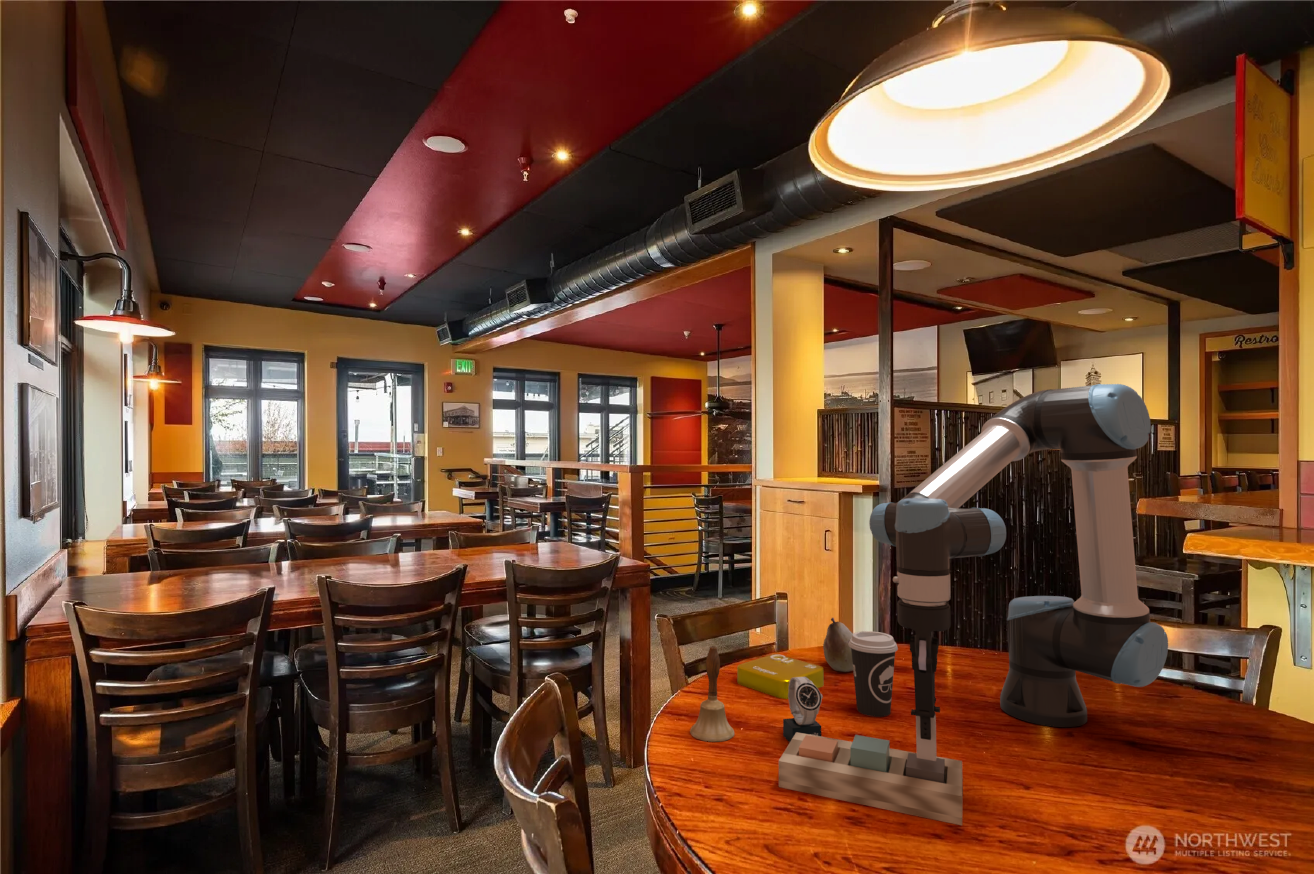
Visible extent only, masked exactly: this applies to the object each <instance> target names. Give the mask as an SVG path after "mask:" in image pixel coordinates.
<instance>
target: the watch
mask: <svg viewBox="0 0 1314 874" xmlns="http://www.w3.org/2000/svg"><path fill="white" fill-rule="evenodd" d="M823 698H824V696H823V694H822V693H821V692H820V688H817V687H816V686H815V685H814V684H813V683H812V681H810V680H809V679H808V678H807V677H793V678H791V680H790V682H789V693H788V699H787V700H788V705H789V706H788V707H789V710H790V713H791V715H792V716H793V718H792V717H791V718H783V719H782V730H783V732H782V733H783V735H782V736H783V738H784V739H785V740H786V741H787V742H788V744H789V743H790V742H791V740H792V738H793V737H794V735H795V734H796V732H798V733H804V734H810V735H815V736H821V737H822V725H821V724H820V723H819V722H818V721H817V720H816V719H817V715H818V714H819V711H820V706H821V704H822V699H823Z"/></svg>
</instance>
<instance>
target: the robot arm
mask: <svg viewBox="0 0 1314 874" xmlns="http://www.w3.org/2000/svg"><path fill="white" fill-rule="evenodd" d="M1151 427H1152V426H1151V417H1150V414H1149V410H1148V407H1147V405H1146V403H1145V402H1144V399H1143V398H1142V396H1140V395H1139V394H1138V392H1137V391H1136V390H1135V389H1133V388H1132V387H1131V386H1128V385H1127V384H1121V383H1111V384H1110V383H1109V384H1108V383H1107V384H1105V383H1104V384H1102V383H1098V384H1097V383H1096V384H1094V385H1093V384H1092V385H1084V386H1073V387H1064V388H1055V389H1054V388H1053V389H1043V390H1039V391H1035V392H1031V393H1030V394H1027V395H1025V396H1023V397H1021V398H1019V399H1018V400H1015V401H1014V402H1012V403H1010V404H1009V405H1007V406H1005V407H1004V408H1002V409H1001V410H999V411H998V412H996V413H995V414H994V415H993V416H991V418H989V419H988V420H987V421H986V422H984V424H983V425H982V427H981V429H980V430H981V432H980V434H978V435H977V436H976V437H975V438H974V439H972V440H971V441H970V442H969V443H967V444H966V445H965V446H963V447H962V448H961V449H960V450H959V451H958V452H956V453H955V454H954V455H953V456H951V458H950V459H948V460H947V461H946V462H945V463H944V464H942V465H941V466H940V467H939V468H937V469H936V470H935V471H934V472H933V473H931V474H930V475H929V476H928V477H927V478H925V480H923V481H922V482H921V483H920V484H919V485H918V486H916V487H915V488H913V489H912V490H911V491H910V492H909V493H908V494H907V495H906V496H904V497H903V498H902V499H901V500H899V501H898V502H891V501H890V502H883V503H880V504H878V505H877V504H876V506H875V507H874V508H873V510H872V512H871V513H870V517H869V529H870V532H871V534H872V536H873V538H874V539H875V540H876V541H877V542H879V543H881V544H884V545H885V544H886V545H890V546H893V547H896V575H897V576H893V578H892V581H893V583H894V584H897V586H896V587H897V596H898V597H899V599H898V601H897V602H896V605H897V607H896V608H897V623H898V624H899V625H900V626H901V627H903V628H905V629H908V630H909V629H910V630H913V631H914V635H910V639H909V651H910V653H911V669H912V670H913V679H914V680H913V681H914V704H915V705H914V706H915V708H914V709H913V708H912V709H911V710H910V714H911V716H915V735H916V737H915V739H916V740H915V741H916V742H915V744H916V753H917V758H920V759H926V760H932V761H936V756H937V721H936V720H937V717H936V714H937V713H940V712H941V707H940V706H936V705H935V703H936V701H937V697H936V679H935V678H936V672H937V666H938V655H939V646H940V645H939V644H940V643H939V640H940V639H939V638H938V637H934V632H944V631H948V630H949V629H950V628H951V627H952V620H951V619H952V618H951V617H952V616H951V605H950V604H949V603H948V601H950V600H951V573H950V559H957V558H970V557H980V558H981V557H983V556H986V555H991V554H995V553H996V552H999V550H1001V549H1002V547H1003V546H1004V544H1005V543H1006V540H1007V527H1006V525H1005V522H1004V520H1003V518H1002V517H1001V516H1000V515H999V514H998V513H997V512H996V511H994V510H992V509H989V508H985V507H983V508H982V507H981V508H980V507H971V508H961V507H962V506H963V505H964V504H965V503H966V502H967V501H969V500H970V498H972V497H973V496H974V495H975V494H976V493H977V492H979V490H981V489H982V488H983V487H984V486H985V485H987V483H989V482H990V481H991V480H992V479H993V478H994V477H995V476H997V474H998V473H1000V472H1001V471H1002V470H1004V469H1005V467H1007V465H1009V464H1010V463H1011V462H1017V461H1021V460H1022V459H1025V458H1026V457H1027V456H1028V455H1029V454H1030V453H1034V452H1038V451H1044V450H1045V451H1046V450H1060V452H1059V453H1060V461H1061V462H1062V463H1064V464H1065V465H1066V466H1067V467H1069V469H1070V470H1071V481H1072V493H1073V495H1072V496H1073V507H1074V519H1075V529H1076V543H1077V544H1076V545H1077V556H1078V566H1079V567H1078V569H1079V581H1080V590H1081V591H1080V593H1081V595H1080V597H1079V598H1077V599H1076V601H1075V600H1074V599H1073V598H1072V597H1067V596H1059V595H1055V596H1054V595H1034V596H1032V595H1030V596H1020V597H1015V598H1013V599H1011V600H1010V602H1009V604H1008V612H1007V613H1008V614H1007V618H1006V620H1007V624H1008V625H1007V627H1008V630H1007V631H1008V662H1009V663H1008V672H1007V675H1006V678H1005V680H1004V683H1003V687H1002V690H1001V692H1000V695H999V698H1000V700H999V704H1000V705H999V706H1000V709H1001V710H1002V711H1003V712H1005V713H1006V714H1008V715H1009V716H1011V717H1014V718H1016V719H1019V720H1021V721H1025V722H1028V723H1031V724H1036V725H1040V726H1041V725H1042V726H1047V727H1057V728H1075V727H1080V726H1083V725H1085V724H1087V722H1088V708H1087V706H1086V703H1085V700H1084V697H1083V695H1082V692H1081V689H1080V687H1079V684H1078V681H1077V676H1076V672H1079V673H1082V674H1086V675H1090V676H1093V677H1097V678H1100V679H1103V680H1107V681H1110V682H1113V683H1114V684H1119V685H1121V684H1122V685H1127V686H1131V687H1136V688H1143V687H1145V686H1149V685H1150V684H1152V683H1153V682H1154V681H1155V680H1156V679H1157V678H1158V677H1159V676H1160V674H1161V672H1162V670H1163V668H1164V666H1165V663H1166V660H1167V657H1168V651H1169V650H1168V649H1169V638H1168V634H1167V632H1166V631H1165V629H1164V627H1163V626H1161V625H1160V624H1158V623H1157V622H1153V621H1152V622H1151V617H1150V614H1151V613H1150V608H1149V607H1148V606H1147V605H1146V604H1144V602H1143V601H1141V600H1140V599H1139V595H1138V582H1137V569H1136V568H1137V567H1136V558H1135V557H1136V556H1135V544H1134V531H1133V520H1132V519H1133V518H1132V507H1131V495H1130V484H1129V483H1130V481H1129V473H1128V472H1129V470H1128V467H1129V466H1130V465H1131V464H1132V463H1133V462H1134V461H1135V460H1136V459H1137V458H1138V453H1137V449H1140V448H1143V447H1144V446H1146V444H1147V443H1148V441H1149V439H1150V436H1149V434H1150V433H1151V429H1152V428H1151Z"/></svg>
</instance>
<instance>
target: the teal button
mask: <svg viewBox="0 0 1314 874" xmlns="http://www.w3.org/2000/svg"><path fill="white" fill-rule="evenodd" d="M851 742H852V745H851V747H850V754H851V766H854V767H860V768H865V769H870V770H876V771H881V772H886V773H888V771H889V767H890V749H891V748H890V744H891V743H890V740H888V739H882V738H876V737H870V736H864V735H858V734H855V735H854V738H853V741H851Z"/></svg>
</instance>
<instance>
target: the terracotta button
mask: <svg viewBox="0 0 1314 874" xmlns="http://www.w3.org/2000/svg"><path fill="white" fill-rule="evenodd" d="M837 755H838V741H837V740H831V739H826V738H820V737H814V736H808V735H806V736H805V737H804V739H803V741H802V743H801V744H800V746H799V756H801V757H807V758H812V759H817V760H823V761H828V762H833V763H834V762H835V760H836V758H837Z"/></svg>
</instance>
